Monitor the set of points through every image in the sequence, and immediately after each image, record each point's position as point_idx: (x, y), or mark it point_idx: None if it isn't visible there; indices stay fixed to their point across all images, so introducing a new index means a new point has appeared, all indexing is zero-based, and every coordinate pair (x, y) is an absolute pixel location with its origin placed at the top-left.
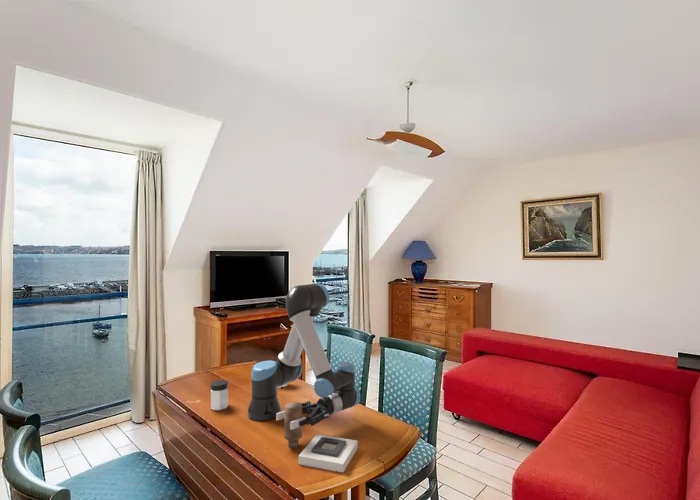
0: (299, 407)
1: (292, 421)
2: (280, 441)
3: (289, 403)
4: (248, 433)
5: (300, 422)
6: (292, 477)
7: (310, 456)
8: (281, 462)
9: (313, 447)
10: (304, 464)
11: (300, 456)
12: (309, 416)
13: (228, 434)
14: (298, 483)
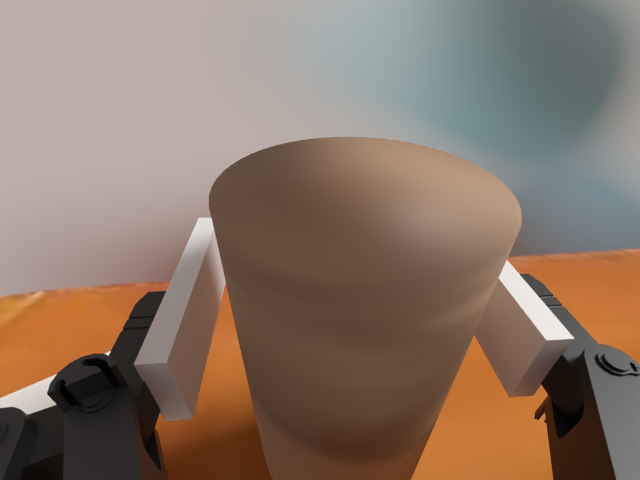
0: (222, 206)
1: (207, 228)
2: (442, 416)
3: (477, 181)
4: (596, 317)
5: (148, 294)
6: (100, 309)
7: (31, 398)
8: (230, 323)
9: None
10: None
11: (108, 353)
12: (98, 452)
13: (590, 260)
14: (47, 308)
